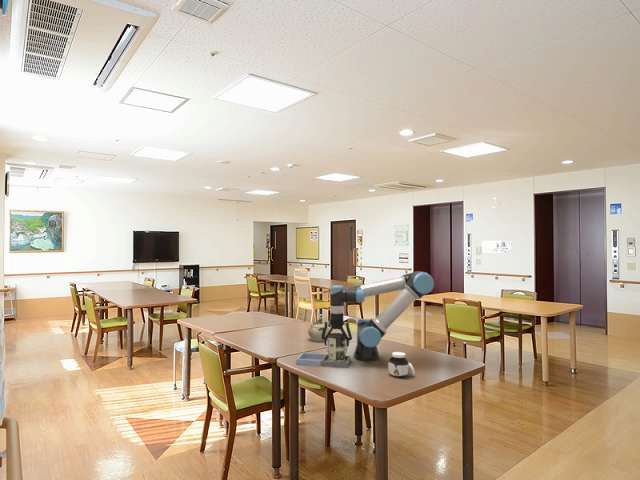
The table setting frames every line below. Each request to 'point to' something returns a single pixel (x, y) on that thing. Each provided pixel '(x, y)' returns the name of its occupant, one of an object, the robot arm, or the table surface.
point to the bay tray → (323, 362)
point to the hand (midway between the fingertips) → (336, 351)
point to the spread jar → (400, 366)
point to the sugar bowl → (317, 331)
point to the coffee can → (336, 347)
